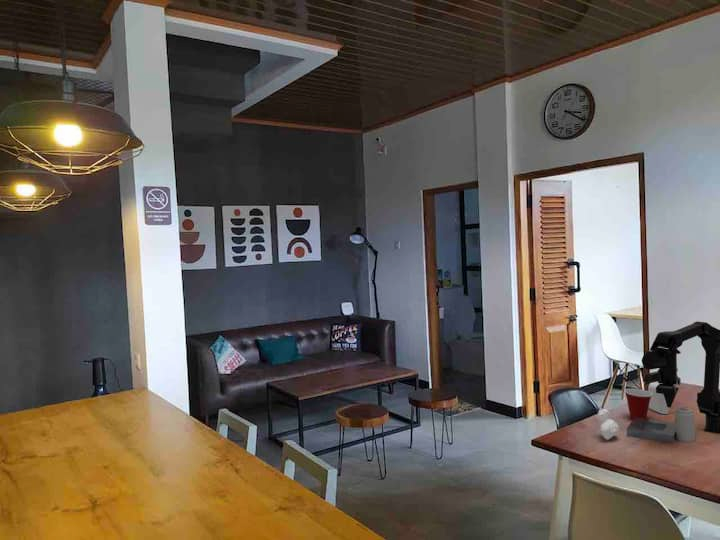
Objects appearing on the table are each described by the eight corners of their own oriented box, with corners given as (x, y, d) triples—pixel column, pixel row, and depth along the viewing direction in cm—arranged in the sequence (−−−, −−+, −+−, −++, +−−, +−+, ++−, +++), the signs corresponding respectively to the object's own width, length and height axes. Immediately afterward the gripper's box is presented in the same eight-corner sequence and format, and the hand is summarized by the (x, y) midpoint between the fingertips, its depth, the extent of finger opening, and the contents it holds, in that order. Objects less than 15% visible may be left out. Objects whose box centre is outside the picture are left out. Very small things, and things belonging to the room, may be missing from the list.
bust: (615, 444, 204) (615, 415, 204) (594, 441, 209) (593, 412, 208) (621, 435, 214) (620, 406, 214) (600, 431, 219) (600, 404, 218)
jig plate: (635, 424, 226) (635, 417, 225) (679, 431, 216) (679, 423, 216) (626, 435, 213) (626, 428, 213) (673, 443, 203) (673, 435, 203)
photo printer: (647, 407, 247) (646, 380, 246) (656, 407, 247) (655, 380, 246) (661, 414, 236) (660, 386, 236) (670, 414, 237) (670, 386, 236)
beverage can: (693, 438, 208) (692, 407, 208) (696, 444, 202) (695, 412, 202) (674, 437, 211) (673, 406, 210) (676, 442, 205) (675, 411, 205)
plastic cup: (652, 424, 224) (651, 395, 224) (623, 421, 230) (622, 393, 230) (654, 417, 234) (653, 389, 233) (626, 414, 239) (625, 387, 239)
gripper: (648, 359, 217) (649, 398, 218) (640, 369, 202) (641, 410, 203) (680, 362, 210) (681, 402, 211) (674, 372, 195) (675, 415, 196)
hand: (669, 407), depth 205 cm, fingers closed
